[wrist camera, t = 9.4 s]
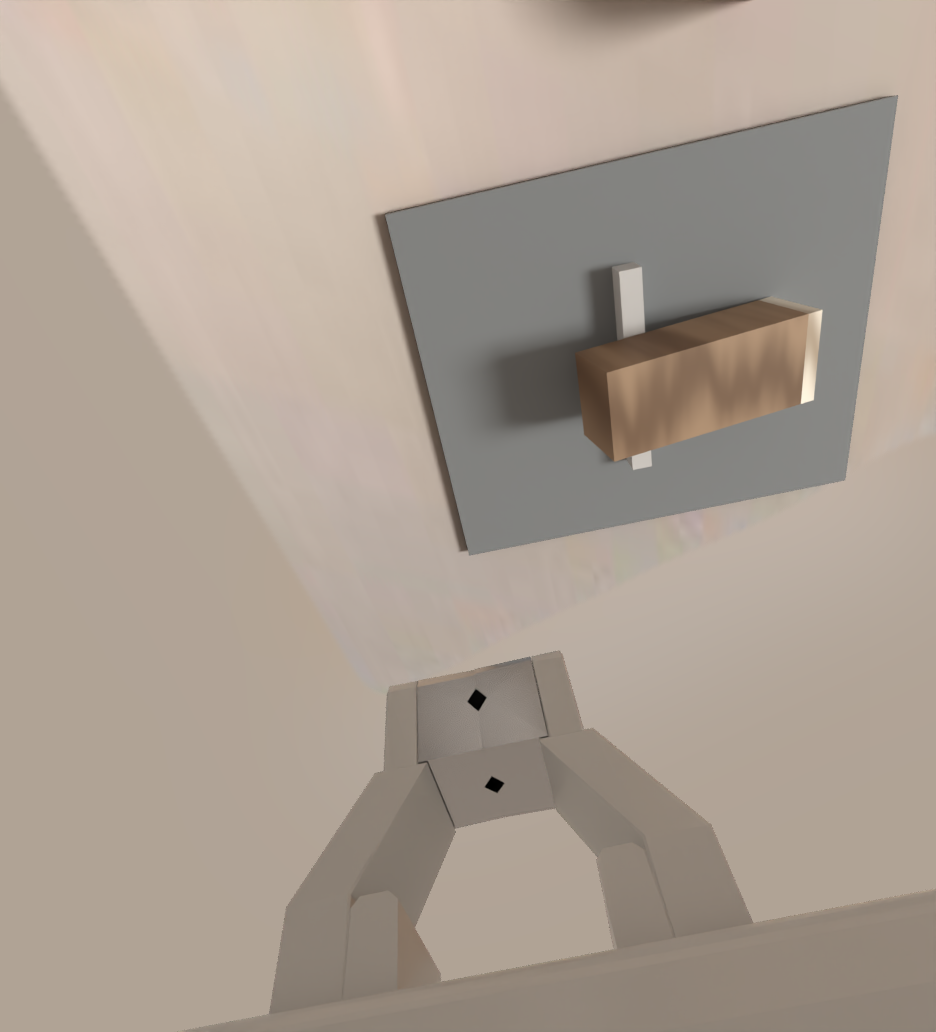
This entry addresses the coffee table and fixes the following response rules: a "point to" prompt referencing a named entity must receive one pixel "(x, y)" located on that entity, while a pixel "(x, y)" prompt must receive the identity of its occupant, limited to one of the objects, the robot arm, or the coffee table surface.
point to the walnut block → (698, 375)
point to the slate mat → (640, 316)
